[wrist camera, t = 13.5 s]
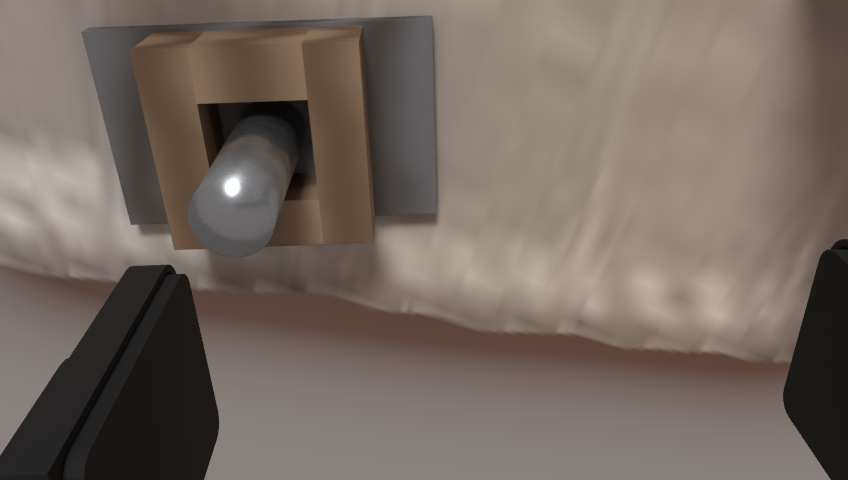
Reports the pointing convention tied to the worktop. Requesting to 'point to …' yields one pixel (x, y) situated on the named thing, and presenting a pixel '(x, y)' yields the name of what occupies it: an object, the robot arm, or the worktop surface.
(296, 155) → the grey metallic cylinder
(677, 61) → the worktop surface
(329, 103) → the docking mount
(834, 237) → the worktop surface
